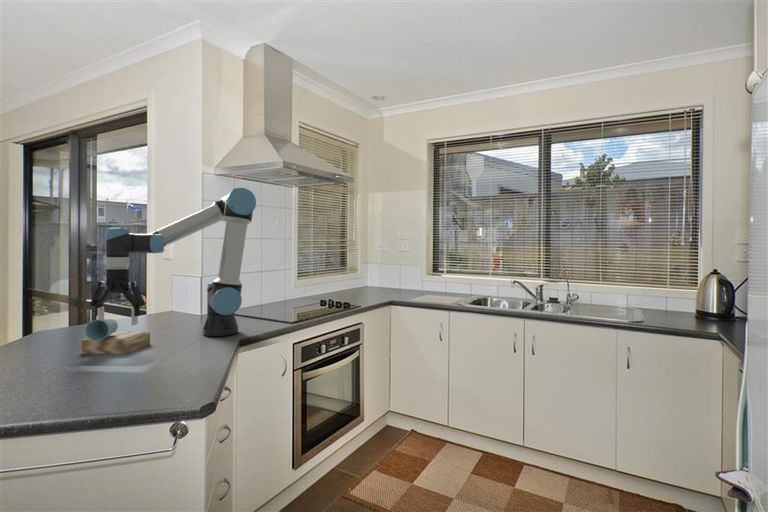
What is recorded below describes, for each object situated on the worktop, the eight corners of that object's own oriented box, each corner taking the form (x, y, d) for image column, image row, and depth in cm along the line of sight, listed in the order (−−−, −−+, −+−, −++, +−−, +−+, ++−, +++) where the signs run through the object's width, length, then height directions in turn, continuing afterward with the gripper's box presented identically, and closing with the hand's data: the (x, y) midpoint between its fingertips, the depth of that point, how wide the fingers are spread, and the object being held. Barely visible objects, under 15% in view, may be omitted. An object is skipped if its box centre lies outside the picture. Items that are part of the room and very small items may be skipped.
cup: (125, 321, 162) (112, 325, 152) (114, 339, 161) (101, 344, 151) (106, 312, 161) (92, 315, 150) (95, 330, 160) (80, 335, 150)
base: (150, 344, 169) (150, 331, 169) (125, 354, 153) (125, 339, 153) (110, 343, 169) (110, 330, 169) (81, 353, 153) (81, 339, 153)
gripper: (155, 268, 164) (154, 323, 165) (92, 267, 164) (92, 322, 164) (144, 269, 157) (144, 326, 157) (78, 268, 157) (78, 326, 157)
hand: (117, 324), depth 161 cm, fingers open, 12 cm apart
